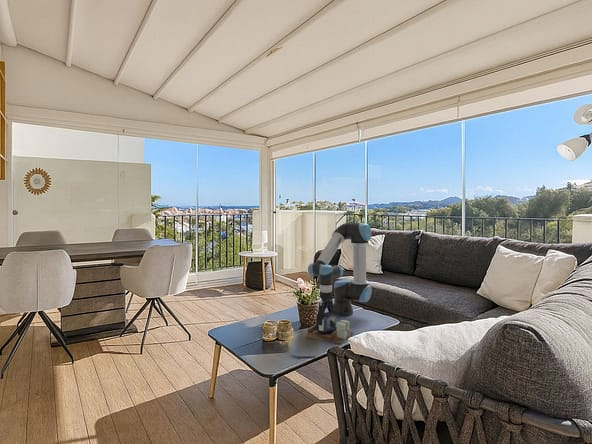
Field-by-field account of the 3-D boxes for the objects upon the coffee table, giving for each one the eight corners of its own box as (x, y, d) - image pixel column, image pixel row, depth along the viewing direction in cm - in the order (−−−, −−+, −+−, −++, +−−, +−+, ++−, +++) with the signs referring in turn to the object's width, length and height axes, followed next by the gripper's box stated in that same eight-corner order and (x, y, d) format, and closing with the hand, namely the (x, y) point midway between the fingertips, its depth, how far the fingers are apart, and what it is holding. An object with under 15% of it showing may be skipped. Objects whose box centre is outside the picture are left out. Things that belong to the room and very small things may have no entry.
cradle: (320, 327, 227) (320, 312, 226) (353, 334, 215) (353, 318, 215) (306, 337, 211) (306, 321, 211) (341, 344, 200) (341, 327, 199)
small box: (320, 334, 210) (320, 317, 209) (315, 330, 216) (315, 313, 215) (336, 331, 213) (336, 314, 213) (331, 327, 219) (331, 311, 219)
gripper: (328, 286, 225) (328, 320, 227) (310, 295, 205) (310, 332, 206) (339, 287, 221) (339, 322, 223) (322, 296, 201) (322, 334, 202)
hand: (325, 327), depth 214 cm, fingers closed on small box, 12 cm apart
